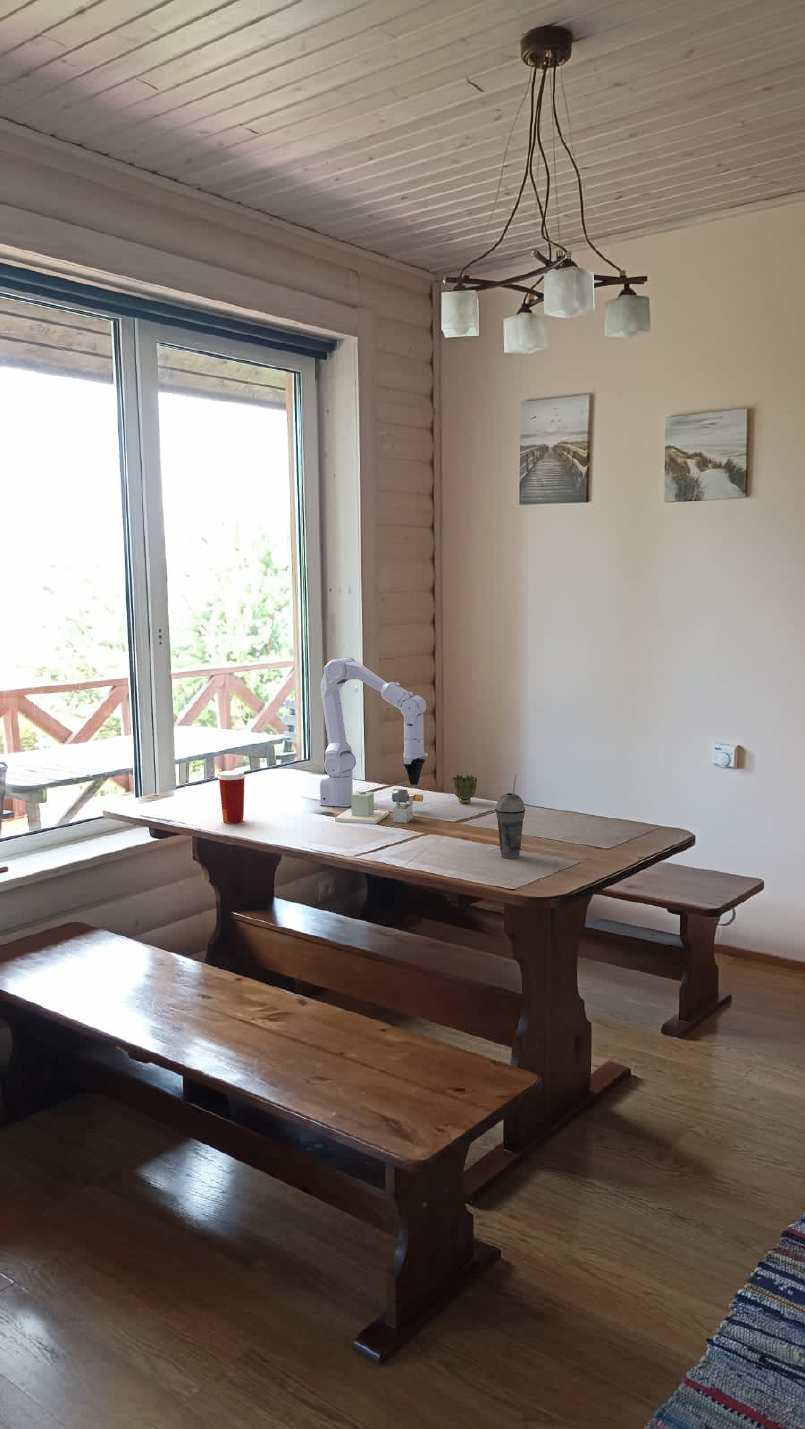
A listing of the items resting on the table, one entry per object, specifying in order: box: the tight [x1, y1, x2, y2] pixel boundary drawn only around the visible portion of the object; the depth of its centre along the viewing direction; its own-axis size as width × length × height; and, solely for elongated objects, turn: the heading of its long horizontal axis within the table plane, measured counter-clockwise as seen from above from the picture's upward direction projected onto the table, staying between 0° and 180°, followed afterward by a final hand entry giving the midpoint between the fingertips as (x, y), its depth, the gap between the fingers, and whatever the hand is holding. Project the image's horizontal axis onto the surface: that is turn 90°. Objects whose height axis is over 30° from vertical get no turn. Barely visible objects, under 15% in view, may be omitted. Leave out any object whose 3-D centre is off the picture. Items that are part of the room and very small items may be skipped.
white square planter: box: [392, 795, 414, 824], centre depth 281 cm, size 4×6×7 cm
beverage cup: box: [494, 775, 526, 860], centre depth 243 cm, size 7×7×20 cm
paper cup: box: [217, 769, 246, 825], centre depth 282 cm, size 8×8×14 cm
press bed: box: [334, 807, 390, 825], centre depth 285 cm, size 12×12×1 cm
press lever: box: [391, 788, 424, 804], centre depth 285 cm, size 5×17×4 cm, turn 163°
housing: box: [350, 790, 375, 817], centre depth 285 cm, size 5×5×6 cm
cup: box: [452, 774, 478, 805], centre depth 302 cm, size 8×7×8 cm
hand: (414, 784), depth 292 cm, fingers closed
